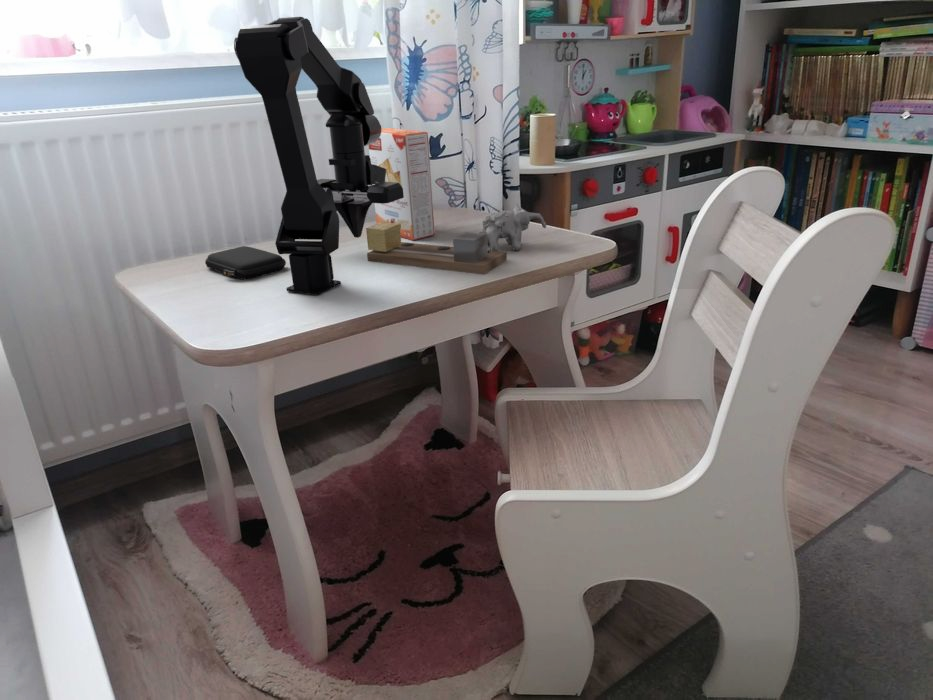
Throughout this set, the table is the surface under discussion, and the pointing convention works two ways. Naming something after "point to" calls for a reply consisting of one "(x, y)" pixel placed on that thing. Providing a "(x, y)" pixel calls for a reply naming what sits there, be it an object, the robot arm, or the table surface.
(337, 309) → the table surface
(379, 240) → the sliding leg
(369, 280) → the table surface
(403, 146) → the cracker box
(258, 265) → the carrying case or bag
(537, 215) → the elephant statuette
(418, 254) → the board
